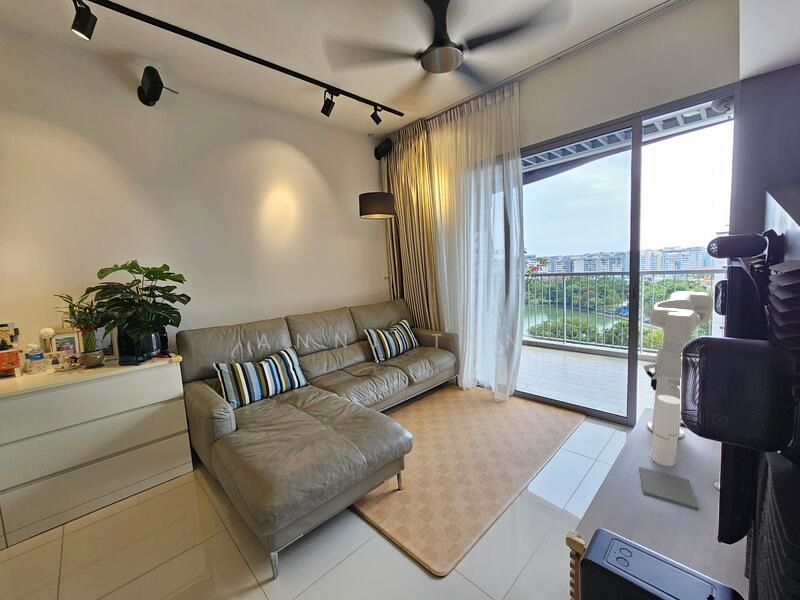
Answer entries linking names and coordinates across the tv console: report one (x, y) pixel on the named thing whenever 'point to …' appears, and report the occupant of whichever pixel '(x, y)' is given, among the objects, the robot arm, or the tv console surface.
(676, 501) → the rubber mat
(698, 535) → the tv console surface
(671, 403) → the cylindrical container
